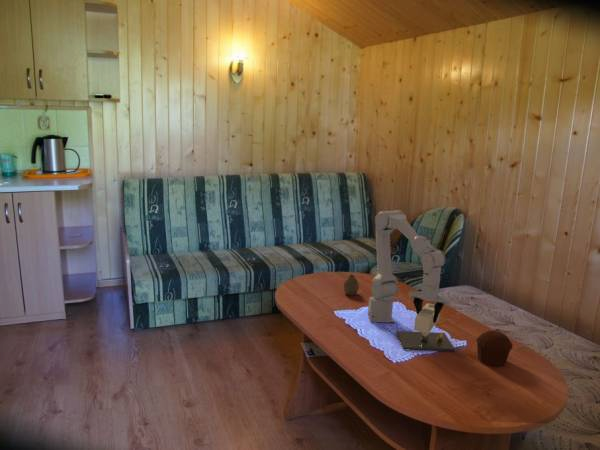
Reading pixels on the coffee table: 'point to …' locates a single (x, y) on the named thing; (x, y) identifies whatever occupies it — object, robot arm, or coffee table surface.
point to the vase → (351, 285)
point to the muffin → (493, 348)
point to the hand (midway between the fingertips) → (427, 320)
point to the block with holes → (425, 319)
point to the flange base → (425, 341)
